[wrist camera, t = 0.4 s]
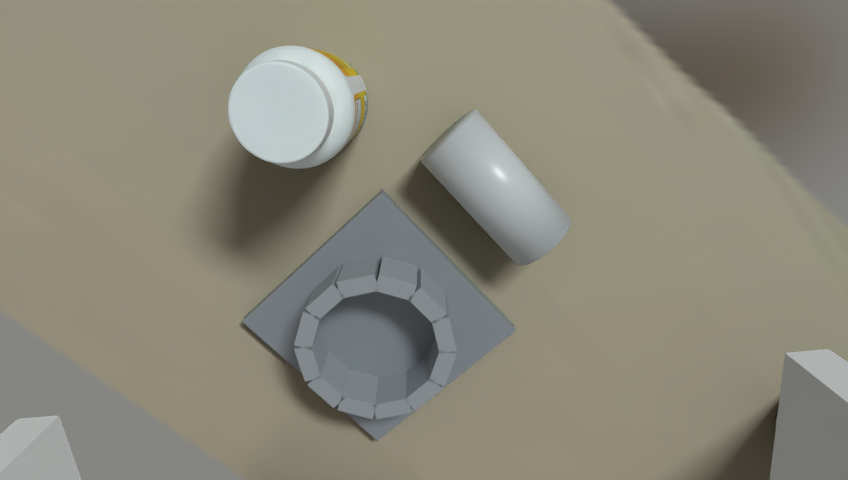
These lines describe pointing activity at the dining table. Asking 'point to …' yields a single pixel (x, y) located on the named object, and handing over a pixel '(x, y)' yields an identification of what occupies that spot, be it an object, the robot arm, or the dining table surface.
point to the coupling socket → (379, 318)
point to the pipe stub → (496, 189)
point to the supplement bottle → (297, 106)
